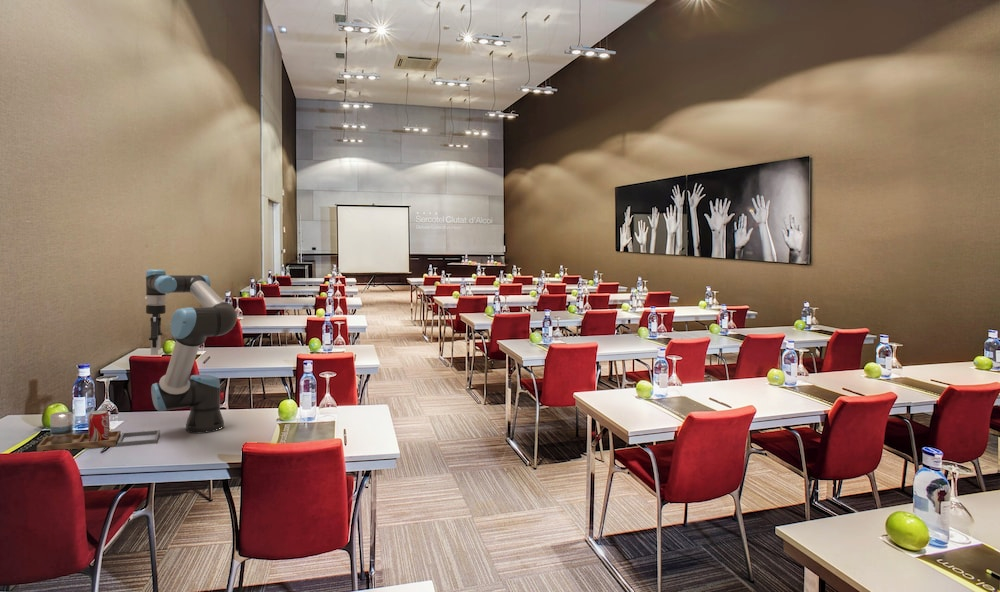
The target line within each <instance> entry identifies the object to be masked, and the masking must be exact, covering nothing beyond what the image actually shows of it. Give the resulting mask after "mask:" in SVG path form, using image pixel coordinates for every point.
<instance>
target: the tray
mask: <svg viewBox="0 0 1000 592" xmlns="http://www.w3.org/2000/svg"><path fill="white" fill-rule="evenodd" d="M160 435H161V431H160V429H158V430H157V429H156V430H155V429H154V430H146V431H145V430H142V431H131V432H121V436H120V438H119V440H118V443H117V445H116V447H126V446H138V445H150V444H158V441H159V438H160ZM141 436H155V438H152V439H141V440H140V439H139V440H129V441H128V440H127V441H126V440H125V441H123V440H124V438H126V437H141Z"/></svg>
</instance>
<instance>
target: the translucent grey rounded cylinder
mask: <svg viewBox="0 0 1000 592" xmlns="http://www.w3.org/2000/svg"><path fill="white" fill-rule="evenodd" d="M49 415H50V417H49V419H50V422H49V423H50V425H49V427H50V428H49V431H50V432H49V433H50V436H51V445H53V444H66V443H73V434H74V433H73V432H74V424H73V421H74V419H73V412H71V411H59V412H58V411H57V412H54V413H51V414H49Z"/></svg>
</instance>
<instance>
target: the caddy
mask: <svg viewBox="0 0 1000 592" xmlns="http://www.w3.org/2000/svg"><path fill="white" fill-rule="evenodd" d="M121 434H122V432H121V430H117V431H116V430H114V431H110V433H109V439H108V440H104V441H91V442H89V438H88V432H87V433H73V443H66V444H53V445H51V435H49V436H45V437H43V439H42V440H41V441H40V442H39V443H38V444H37V445H36V452H37V451H43V450H52V449H68V450H67V451H73V450H72V449H78V450H82V449H81V448H90V449H99V448H101V449H102V448H113V447H117V443H118V440H119V438H120V436H121ZM70 449H71V450H70Z"/></svg>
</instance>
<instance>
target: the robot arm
mask: <svg viewBox="0 0 1000 592" xmlns="http://www.w3.org/2000/svg"><path fill="white" fill-rule="evenodd" d="M145 293H146V294H145V295H146V296H144V300H145V304H146V305H145V313H146V314H148V315H152V316H151V317H150V337H149V338H148V340H149V341H150V356H158V355H159V351H161V350H162V349H161V348H162V347H161V344H162V343H161V342H162V340H161V339H162V336H163V332H162V331H161V328H162V326H161V325H162V317H161V315H164V314H166V308H167V306H166V303H167V301H166V299H167V297H166V295H167V294H172V293H173V294H176V293H177V294H178V293H179V294H180V293H189V294H191V295H192V296H193V297H194V298H195V299H196V301H197V302H198V303H199V304H200V305H201V306H200V307H190V306H187V307H183V308H181V307H180V308H178V309H176V310H175V311H174V312H173V314H172V315H171V316H172V317H171V319H170V325H169V326H170V333H171V335H172V337H173V338H174V340H175V343H174V345H173V348H172V349H173V350H172V354H171V357H170V360H169V363H168V365H167V370H166V373H165V374H164V375H162V376H161V377H160V378H159V381H158V382H155V383H152V385H151V387H150V392H151V399H152V404H153V406H154V408H155V410H157V411H159V412H161V411H163V412H164V411H165V412H166V411H171V410H178V409H185V408H186V409H187V408H189V410H190V411H189V414H188V417H187V420H186V423H185V431H186V432H188V431H189V433H194V432H205V433H207V432H206V431H212V432H214V431H213V430H216V429H219V428H221V427H223V426H224V427H225V420H224V418H223V415H222V412H221V409H220V408H221V407H220V406H221V385H220V383H221V382H220V378H219V377H218V376H215V375H208V374H193V375H191V371H192V369H193V366H194V363H195V360H196V357H197V354H198V352H199V348H200V346H202V345H204V343H205V342H206V341H207V338H208V337H210V338H211V337H219V336H223V335H226V334H228V333H229V332H230V331H232V330H233V329H234V327H235V325H236V323H237V320H238V314H237V311H236V309H235V308H234V306H233V305H232V304H230V303H228V301H227V302H226V301H224V300H223V299H222V298H221V297H220V295H218V294H217V292H215V290H213V288H212V287H211V280H210V278H209V276H207V275H204V274H203V275H201V274H195V275H193V274H192V275H191V274H190V275H188V274H187V275H185V274H184V275H180V274H179V275H178V274H177V275H175V274H172V275H171V274H169V275H168V274H167V275H166V270H165V269H147V270H146V271H145ZM224 427H223V428H224Z"/></svg>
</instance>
